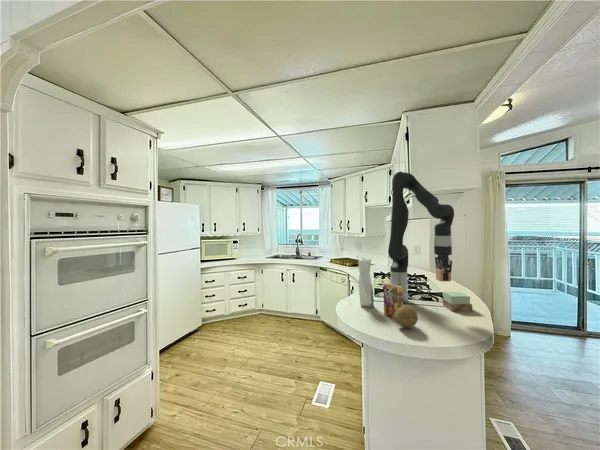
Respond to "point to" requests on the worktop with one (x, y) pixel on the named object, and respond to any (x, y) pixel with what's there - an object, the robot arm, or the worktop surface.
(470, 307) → the tower base block
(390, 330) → the worktop surface
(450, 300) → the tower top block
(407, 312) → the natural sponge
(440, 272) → the terracotta block
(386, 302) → the candy box
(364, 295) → the skyscraper
